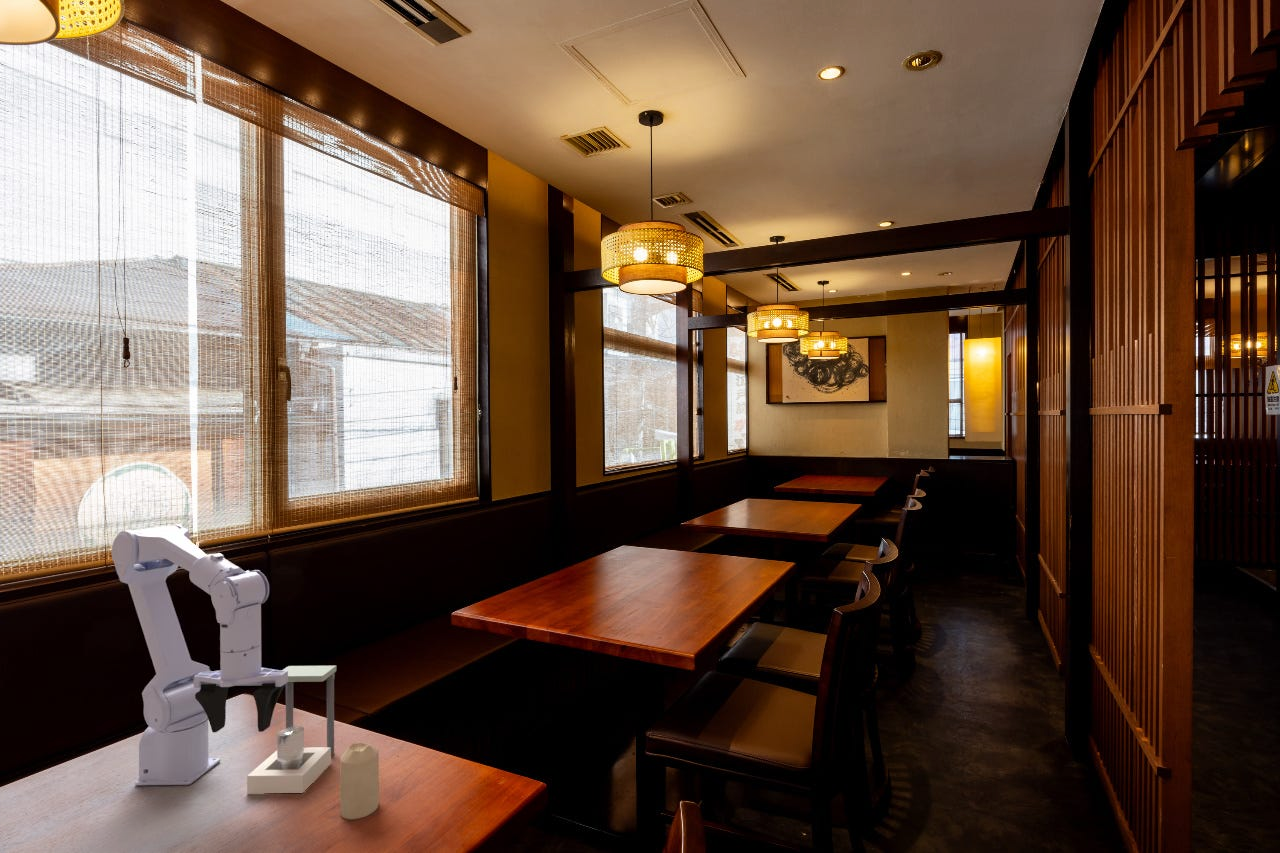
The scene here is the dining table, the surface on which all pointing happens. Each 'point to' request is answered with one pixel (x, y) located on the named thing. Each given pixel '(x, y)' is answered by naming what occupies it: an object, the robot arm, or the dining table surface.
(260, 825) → the dining table surface
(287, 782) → the socket block
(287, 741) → the peg
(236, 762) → the dining table surface
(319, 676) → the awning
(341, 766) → the candle
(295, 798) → the dining table surface
